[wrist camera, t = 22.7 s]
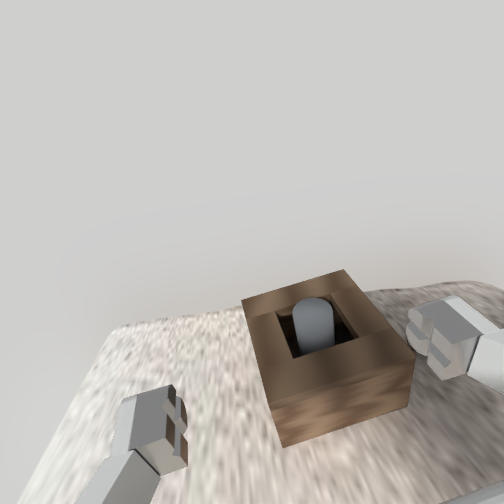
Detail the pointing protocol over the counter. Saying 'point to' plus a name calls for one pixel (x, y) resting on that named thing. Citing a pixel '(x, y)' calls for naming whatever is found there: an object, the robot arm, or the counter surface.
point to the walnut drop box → (327, 360)
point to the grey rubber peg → (313, 325)
